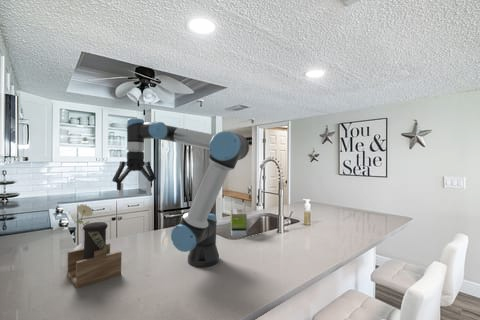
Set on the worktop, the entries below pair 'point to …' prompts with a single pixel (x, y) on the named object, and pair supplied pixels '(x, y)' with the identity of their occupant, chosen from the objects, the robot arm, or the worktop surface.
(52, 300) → the worktop surface
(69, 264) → the holder
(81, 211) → the flower in vase
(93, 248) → the container
